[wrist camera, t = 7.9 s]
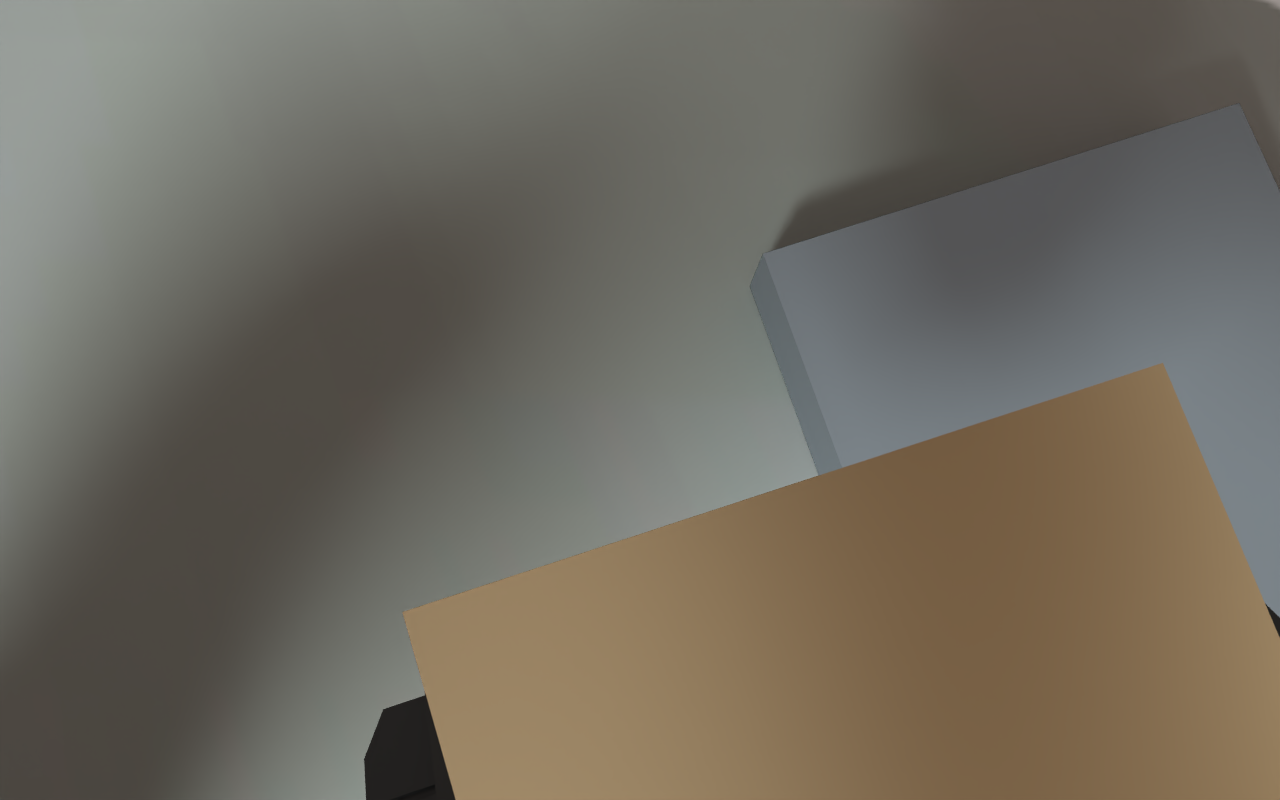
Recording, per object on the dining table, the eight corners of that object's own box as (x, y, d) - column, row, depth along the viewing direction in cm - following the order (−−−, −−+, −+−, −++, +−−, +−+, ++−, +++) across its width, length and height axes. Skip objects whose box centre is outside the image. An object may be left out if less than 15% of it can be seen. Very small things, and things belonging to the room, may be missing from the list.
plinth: (922, 759, 31) (954, 774, 28) (749, 286, 33) (762, 253, 30) (1385, 593, 32) (1463, 590, 29) (1185, 147, 34) (1238, 103, 31)
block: (637, 992, 15) (664, 1535, 6) (524, 619, 16) (402, 612, 7) (994, 863, 15) (1515, 1194, 6) (864, 507, 16) (1162, 362, 7)
